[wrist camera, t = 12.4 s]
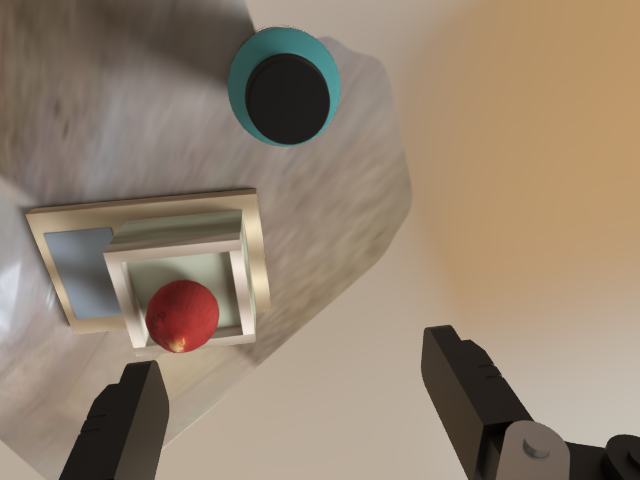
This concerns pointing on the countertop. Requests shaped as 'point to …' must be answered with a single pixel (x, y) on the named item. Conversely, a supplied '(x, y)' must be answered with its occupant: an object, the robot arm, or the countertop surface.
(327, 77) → the beverage bottle
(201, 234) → the tray with open box
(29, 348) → the countertop surface
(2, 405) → the countertop surface
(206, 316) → the onion
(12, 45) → the countertop surface
